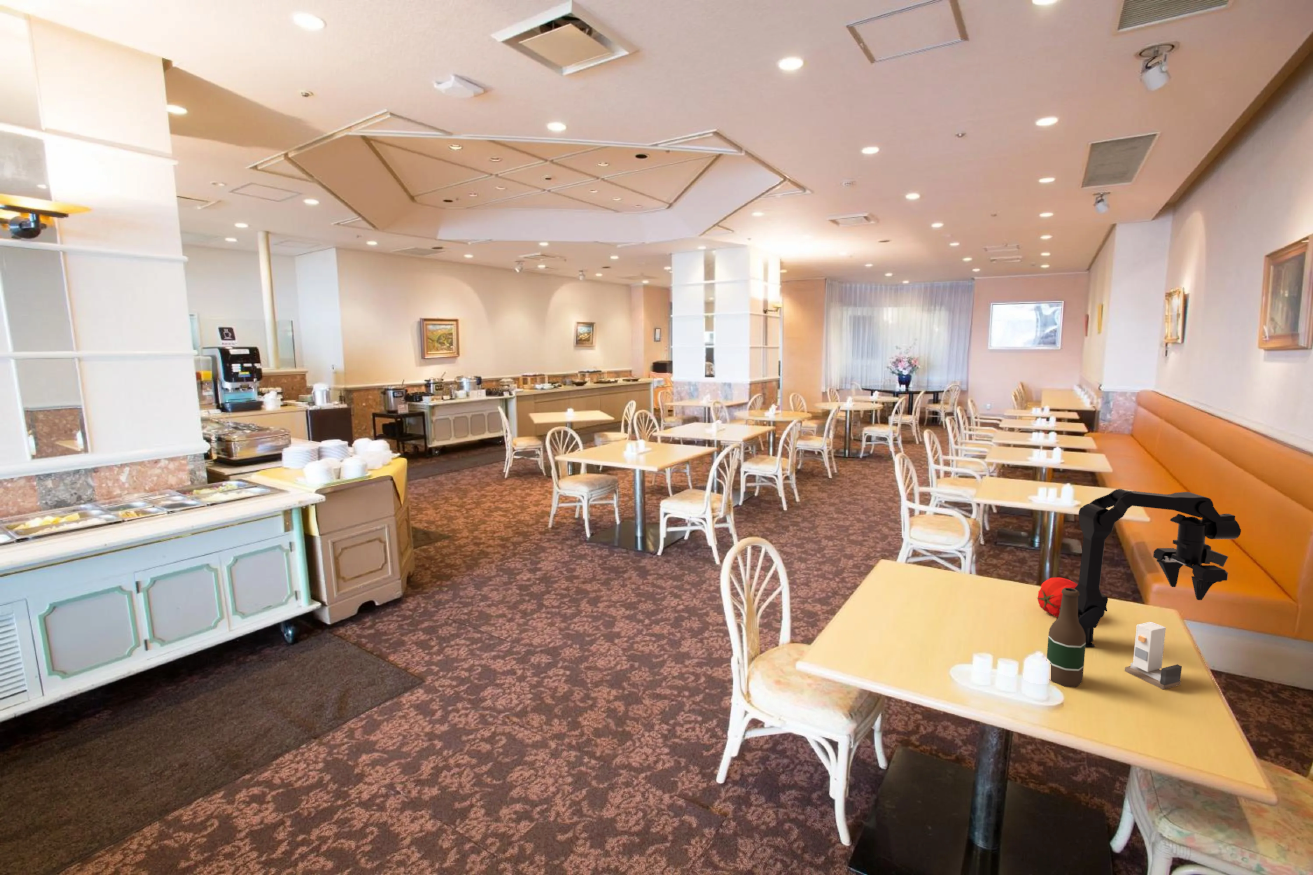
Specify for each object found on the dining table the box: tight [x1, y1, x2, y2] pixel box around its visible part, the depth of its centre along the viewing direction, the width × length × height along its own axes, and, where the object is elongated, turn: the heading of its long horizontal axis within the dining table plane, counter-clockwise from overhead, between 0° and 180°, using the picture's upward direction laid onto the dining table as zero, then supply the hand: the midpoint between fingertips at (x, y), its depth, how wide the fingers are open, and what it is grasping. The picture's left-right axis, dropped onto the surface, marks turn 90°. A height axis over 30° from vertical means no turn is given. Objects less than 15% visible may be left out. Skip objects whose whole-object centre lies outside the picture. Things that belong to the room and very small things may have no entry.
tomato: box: [1037, 576, 1078, 618], centre depth 189 cm, size 13×13×13 cm
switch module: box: [1132, 621, 1167, 672], centre depth 153 cm, size 4×6×11 cm, turn 107°
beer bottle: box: [1046, 588, 1086, 688], centre depth 152 cm, size 8×8×24 cm
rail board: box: [1124, 662, 1182, 690], centre depth 153 cm, size 9×6×5 cm, turn 17°
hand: (1185, 593), depth 168 cm, fingers open, 9 cm apart
